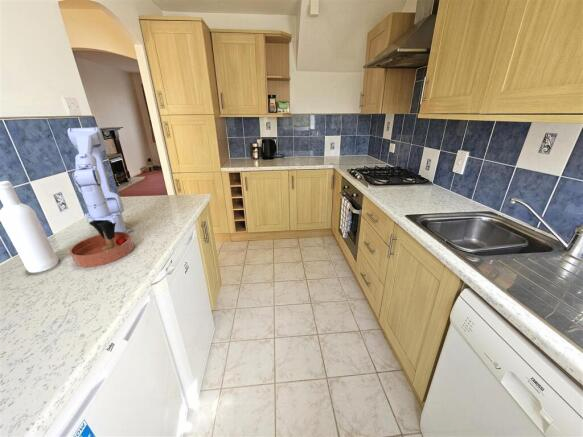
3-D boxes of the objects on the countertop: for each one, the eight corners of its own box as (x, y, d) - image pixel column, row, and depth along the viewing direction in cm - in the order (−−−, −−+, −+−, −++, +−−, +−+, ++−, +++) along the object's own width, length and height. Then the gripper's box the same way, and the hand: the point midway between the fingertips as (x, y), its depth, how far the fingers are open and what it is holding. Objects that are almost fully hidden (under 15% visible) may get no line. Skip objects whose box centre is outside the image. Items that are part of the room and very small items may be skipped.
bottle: (30, 266, 84) (-15, 182, 72) (60, 258, 89) (22, 177, 77) (26, 277, 78) (-24, 187, 67) (58, 268, 83) (16, 182, 71)
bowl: (62, 263, 85) (56, 251, 83) (112, 239, 101) (109, 229, 99) (97, 273, 80) (92, 260, 78) (145, 246, 95) (141, 235, 93)
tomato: (112, 241, 94) (118, 236, 96) (117, 246, 96) (123, 241, 98) (117, 241, 93) (123, 235, 95) (123, 246, 95) (128, 241, 97)
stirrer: (98, 251, 90) (93, 231, 87) (113, 245, 95) (108, 226, 92) (109, 253, 88) (104, 233, 86) (123, 247, 93) (119, 228, 91)
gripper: (70, 205, 84) (84, 239, 89) (98, 209, 79) (112, 245, 85) (91, 198, 90) (103, 231, 95) (119, 202, 85) (130, 236, 91)
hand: (108, 237), depth 90 cm, fingers closed on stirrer, 2 cm apart
